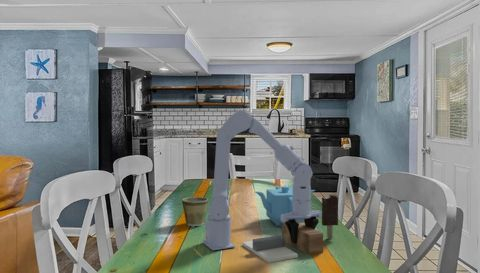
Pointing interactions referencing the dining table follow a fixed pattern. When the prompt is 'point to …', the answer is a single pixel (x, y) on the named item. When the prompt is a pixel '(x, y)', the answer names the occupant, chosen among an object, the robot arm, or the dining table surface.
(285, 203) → the teakettle
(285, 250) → the fulcrum board
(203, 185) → the dining table surface
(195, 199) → the plant pot
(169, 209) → the dining table surface
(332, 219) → the ice cream bar
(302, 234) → the walnut beam
